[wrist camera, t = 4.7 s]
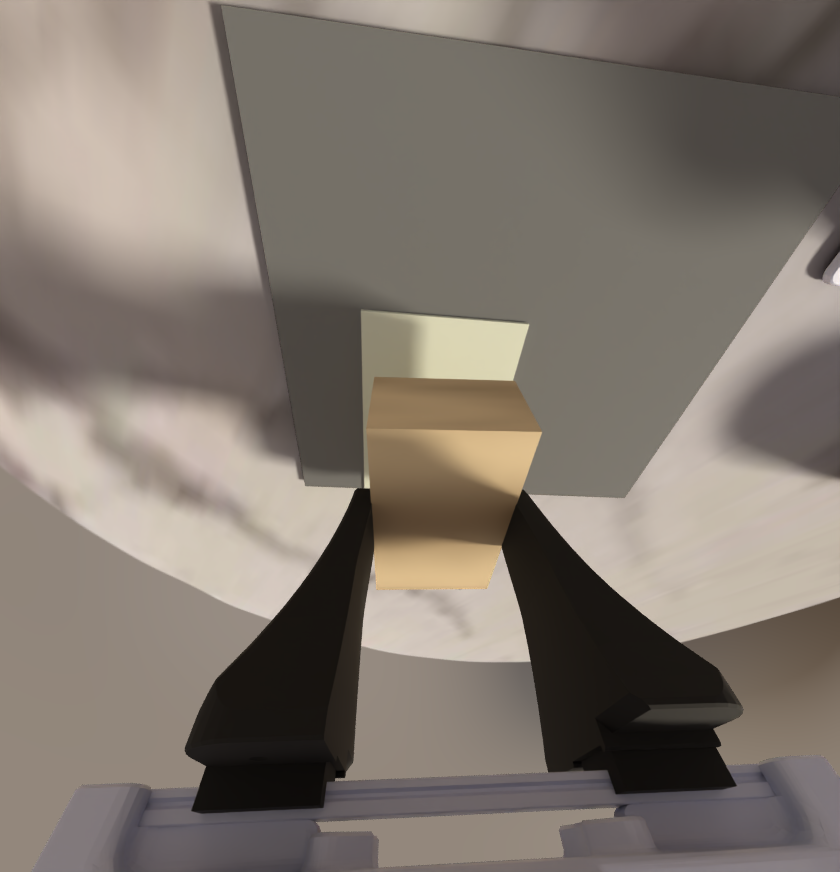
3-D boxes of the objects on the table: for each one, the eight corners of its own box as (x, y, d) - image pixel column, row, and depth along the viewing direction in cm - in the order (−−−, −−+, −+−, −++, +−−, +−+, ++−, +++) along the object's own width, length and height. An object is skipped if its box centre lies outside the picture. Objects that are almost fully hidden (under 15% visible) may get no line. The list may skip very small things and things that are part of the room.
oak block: (476, 532, 17) (487, 588, 15) (380, 532, 17) (376, 589, 15) (514, 380, 12) (542, 432, 9) (374, 376, 11) (366, 428, 9)
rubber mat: (880, 107, 11) (902, 103, 10) (617, 498, 22) (622, 505, 21) (227, 10, 9) (217, 1, 8) (307, 486, 20) (305, 494, 20)
